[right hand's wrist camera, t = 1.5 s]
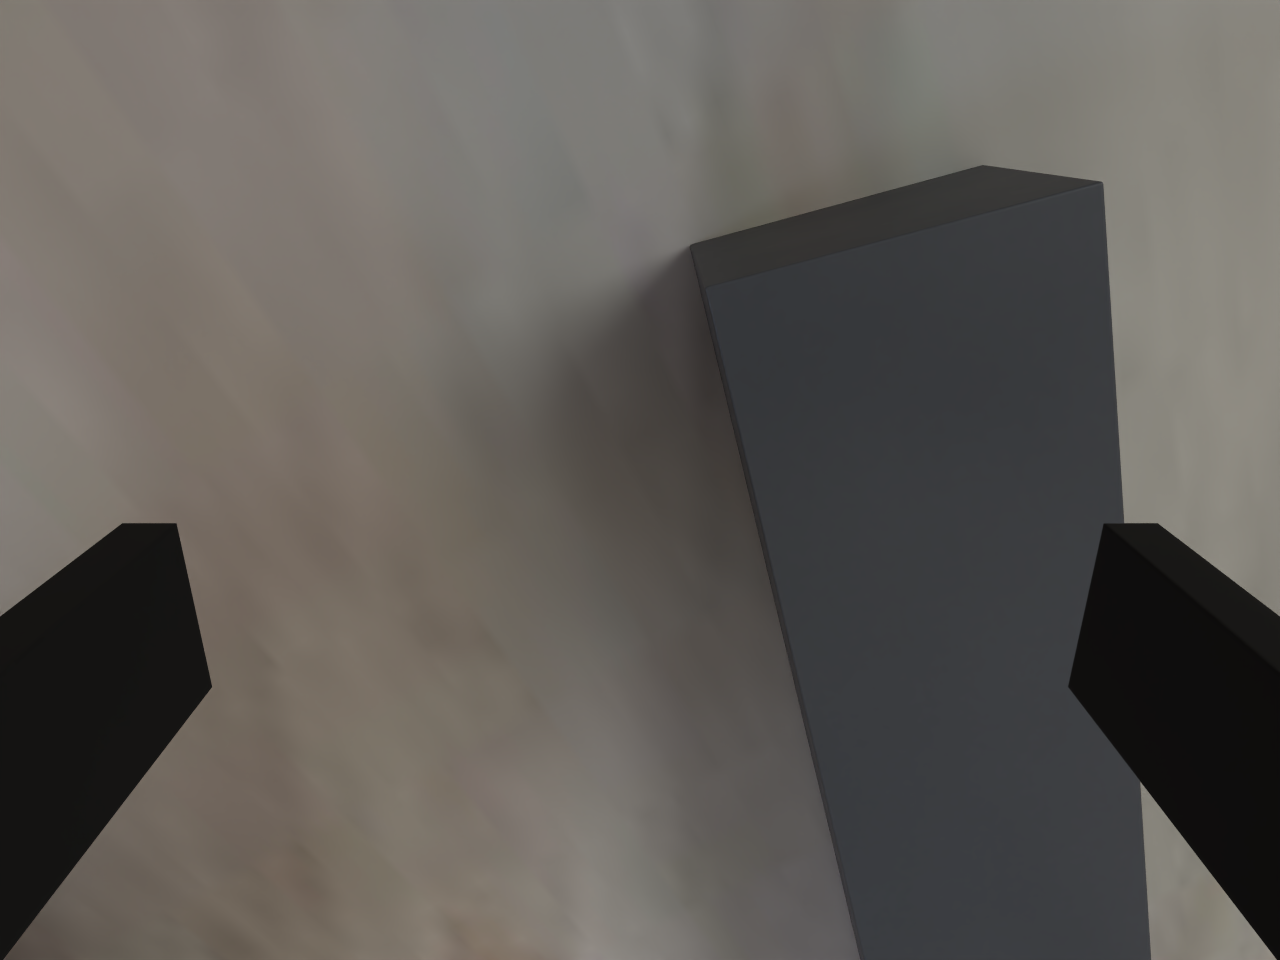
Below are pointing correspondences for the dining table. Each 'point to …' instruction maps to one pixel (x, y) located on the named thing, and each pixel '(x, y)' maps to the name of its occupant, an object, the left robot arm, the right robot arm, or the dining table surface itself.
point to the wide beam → (942, 550)
